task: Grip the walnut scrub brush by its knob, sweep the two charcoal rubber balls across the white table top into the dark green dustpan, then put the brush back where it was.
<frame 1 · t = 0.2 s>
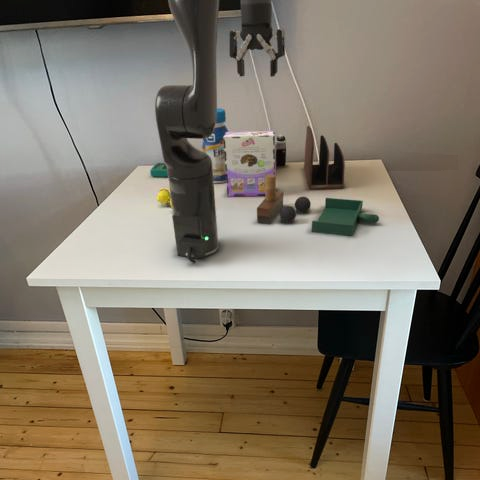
hand: (257, 76, 122), 29 cm above the table, tool pointing down, fingers open, 8 cm apart
digital multimeter: (175, 174, 151), on the table
beverage bottle: (218, 180, 144), on the table
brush: (270, 214, 119), on the table
ball b: (302, 204, 118), point 2 cm above the table
ball a: (287, 214, 114), point 2 cm above the table
dustpan: (336, 220, 114), on the table
candy box: (251, 193, 133), on the table
letter holder: (322, 178, 141), on the table
camera: (263, 170, 150), on the table
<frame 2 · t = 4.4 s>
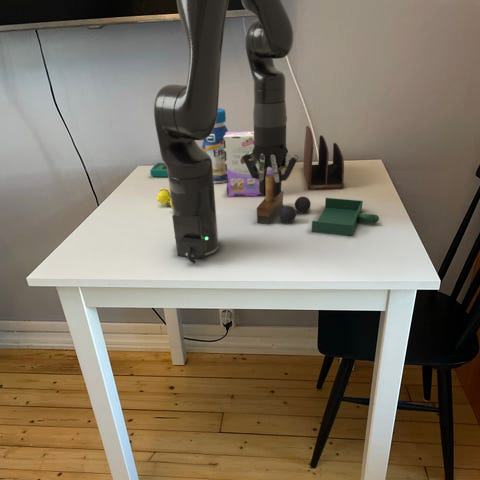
hand: (270, 195, 116), 5 cm above the table, tool pointing down, fingers closed on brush, 2 cm apart
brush: (270, 214, 119), on the table, touching gripper
everything else where it was.
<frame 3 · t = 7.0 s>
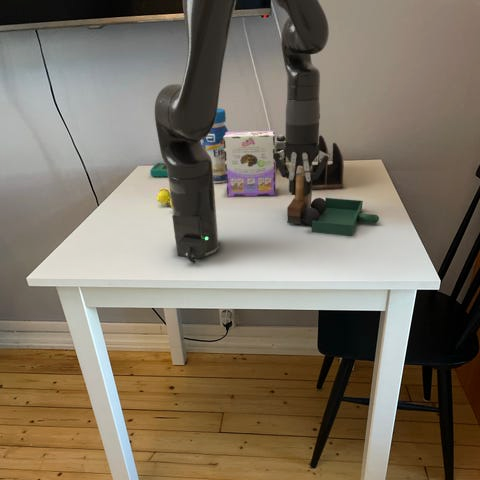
hand: (300, 194, 114), 6 cm above the table, tool pointing down, fingers closed on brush, 2 cm apart
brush: (299, 214, 117), point 1 cm above the table, touching gripper
ball b: (318, 205, 117), point 2 cm above the table, tilted 118°
ball a: (310, 216, 112), point 2 cm above the table, tilted 164°
everything else where it was.
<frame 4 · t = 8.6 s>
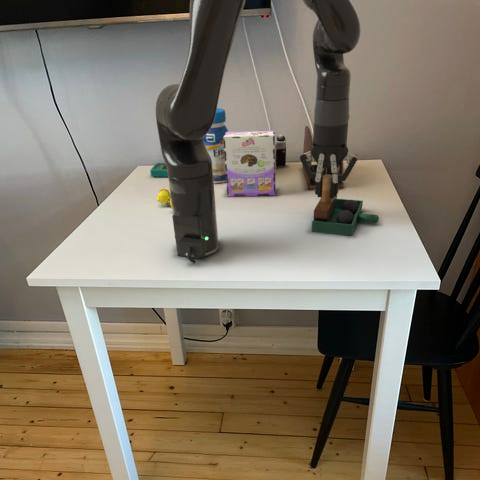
hand: (326, 196, 112), 6 cm above the table, tool pointing down, fingers closed on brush, 2 cm apart
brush: (325, 216, 115), point 1 cm above the table, touching gripper
ball b: (350, 207, 115), point 2 cm above the table, tilted 16°, touching dustpan
ball a: (345, 218, 109), point 2 cm above the table, tilted 39°, touching dustpan
everything else where it was.
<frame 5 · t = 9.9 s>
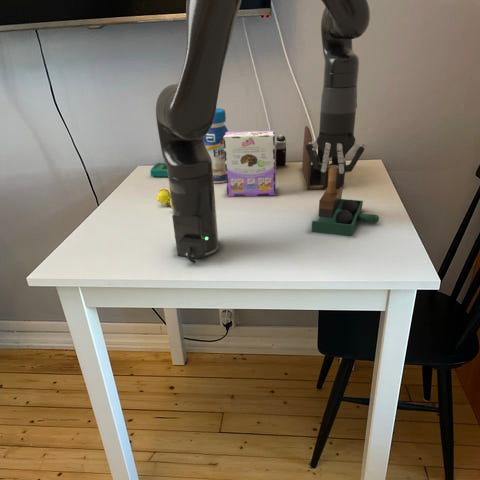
hand: (332, 187, 110), 8 cm above the table, tool pointing down, fingers closed on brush, 2 cm apart
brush: (330, 208, 113), point 3 cm above the table, touching gripper
ball a: (344, 218, 110), point 2 cm above the table, tilted 33°, touching dustpan
everything else where it was.
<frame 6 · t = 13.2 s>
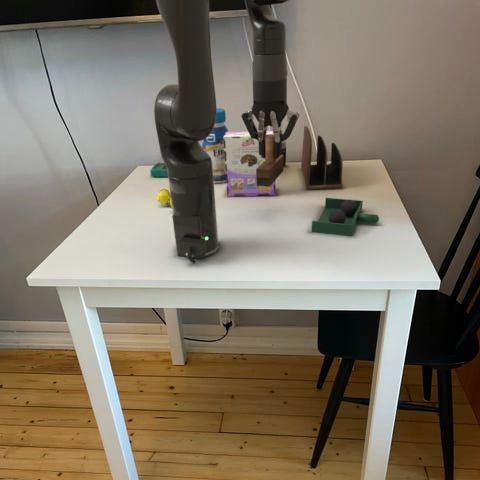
hand: (270, 157, 111), 14 cm above the table, tool pointing down, fingers closed on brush, 2 cm apart
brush: (270, 178, 114), point 9 cm above the table, touching gripper
ball b: (348, 207, 115), point 2 cm above the table, tilted 27°, touching dustpan
ball a: (336, 217, 110), point 2 cm above the table, tilted 16°, touching dustpan
everything else where it was.
when the fingers open (5 cm above the table, at t = 15.6 s): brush stays where it is, on the table.
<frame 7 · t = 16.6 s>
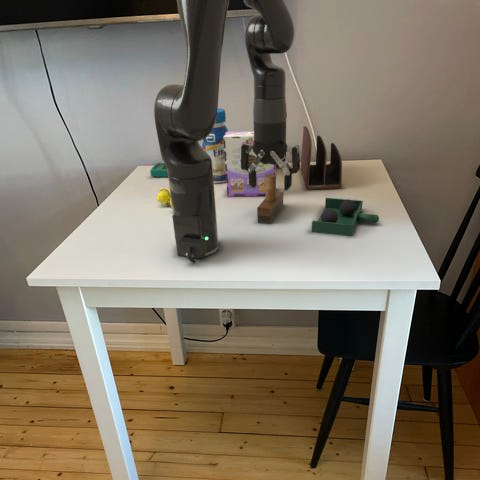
hand: (270, 188, 115), 7 cm above the table, tool pointing down, fingers open, 8 cm apart
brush: (271, 214, 119), on the table
ball b: (347, 207, 115), point 2 cm above the table, tilted 36°, touching dustpan
ball a: (329, 217, 111), point 2 cm above the table, tilted 67°, touching dustpan
everything else where it was.
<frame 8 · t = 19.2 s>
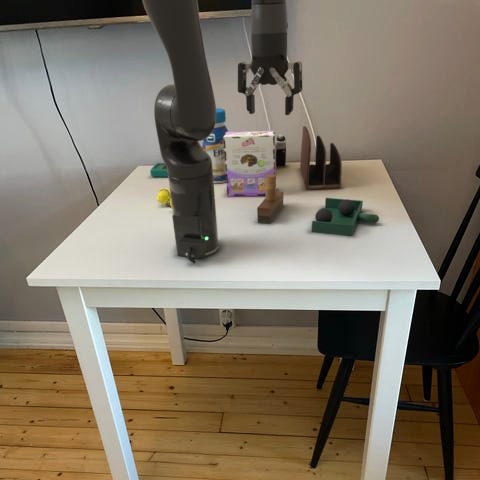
hand: (269, 113, 105), 24 cm above the table, tool pointing down, fingers open, 8 cm apart
ball b: (346, 207, 115), point 2 cm above the table, tilted 42°, touching dustpan
ball a: (323, 216, 111), point 2 cm above the table, tilted 105°, touching dustpan
at the end: ball a inside the target area in the dustpan (4.6 cm from its centre), point 2.1 cm above the dustpan's base; ball b inside the target area in the dustpan (3.8 cm from its centre), point 2.1 cm above the dustpan's base; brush inside the target area (0.1 cm from its centre), on the table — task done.
